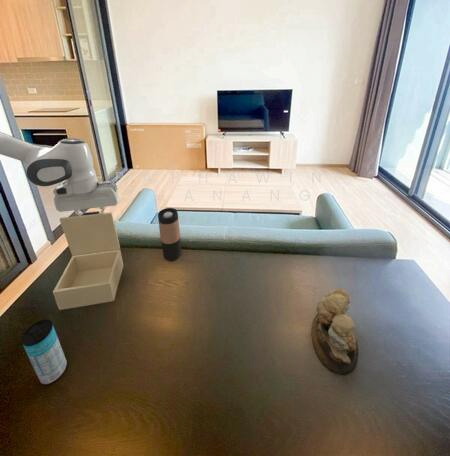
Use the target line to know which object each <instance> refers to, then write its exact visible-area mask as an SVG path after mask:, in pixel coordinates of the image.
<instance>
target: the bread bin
mask: <svg viewBox="0 0 450 456" xmlns="http://www.w3.org/2000/svg"><path fill="white" fill-rule="evenodd" d="M123 268H124V261H123V257H122V251H121V249H118V250H110V251H103V252H95V253H88V254H80V255H71V258H70V260H69V262H68V264H67V265H66V267H65V269H64V271H63V273H62V275H61V276H60V278H59V280H58V282H57V283H56V285H55V287H54V289H53V291H52V295H53V297H54V300H55V303H56V306H57V308H58V310H59V311H62V310H68V309H69V310H70V309H75V308H80V307H81V308H82V307H87V306H93V305H100V304H104V303H106V304H107V303H112V302H115V299H116V295H117V292H118V287H119V284H120V280H121V276H122V272H123V270H124V269H123Z"/></svg>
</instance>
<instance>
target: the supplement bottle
mask: <svg viewBox="0 0 450 456" xmlns="http://www.w3.org/2000/svg"><path fill="white" fill-rule="evenodd" d="M20 341H21V344H22V347H23V348H24V351H25V353H26V356H27V358H28V359H29V362H30V364H31V366H32V368H33V370H34V372H35V375H36V376H37V378H38V381H39V383H41V384H42V385H50V384H53V383H55V382H56V381H58V380H59V379H60V378H61V377H62V376H63V374H65V371H66V368H67V364H68V363H67V361H68V360H67V359H66V356H65V353H64V350H63V348H62V345H61V342H60V340H59V337H58V335H57V332H56V329H55V327H54V324H53V322H52V320H50V319H41V320H38V321H36V322H35V323H33V324H31V325H30V326H29V327H28V328H27V329H26V330H25V331H24V332H23V334H22V336H21V339H20Z"/></svg>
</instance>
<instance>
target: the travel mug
mask: <svg viewBox="0 0 450 456" xmlns="http://www.w3.org/2000/svg"><path fill="white" fill-rule="evenodd" d="M157 221H158V228H159V236H160V245H161V250H162V254H163V259H164V260H166V261H168V262H174V261H176V260H178V259H180V257H181V255H182V245H181V244H182V243H181V230H180V221H179V213H178V210H177V209H176V208H174V207H166V208H163V209H161V210H159V211H158V213H157Z"/></svg>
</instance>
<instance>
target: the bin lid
mask: <svg viewBox="0 0 450 456" xmlns="http://www.w3.org/2000/svg"><path fill="white" fill-rule="evenodd" d="M99 211H100V210H98V211H87V212H82V213H83V216H78V215H76V216H75V215H74V216H66V217H60V218H59V222H60V225H61V228H62V231H63V233H64V237H65V240H66V242H67V245H68V248H69V250H70V254H71V256H75V255H83V254H90V253H98V252H106V251H113V250H121V245H120V241H119V236H118V233H117V229H116V224H115V220H114V215H113V212H104V213H101V214H98V213H99Z"/></svg>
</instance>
